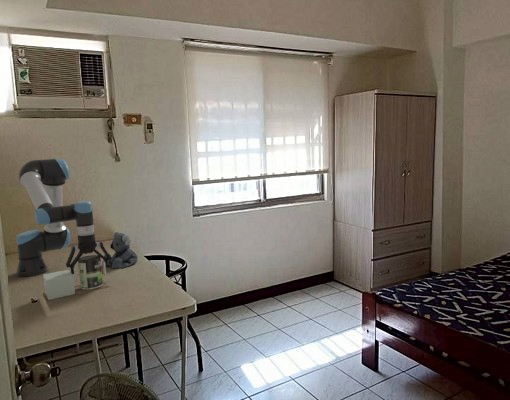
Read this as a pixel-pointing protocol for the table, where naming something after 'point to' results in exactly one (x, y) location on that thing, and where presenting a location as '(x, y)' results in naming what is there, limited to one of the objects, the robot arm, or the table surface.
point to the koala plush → (121, 251)
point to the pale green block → (58, 284)
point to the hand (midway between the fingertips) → (90, 277)
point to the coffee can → (90, 272)
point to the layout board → (82, 290)
